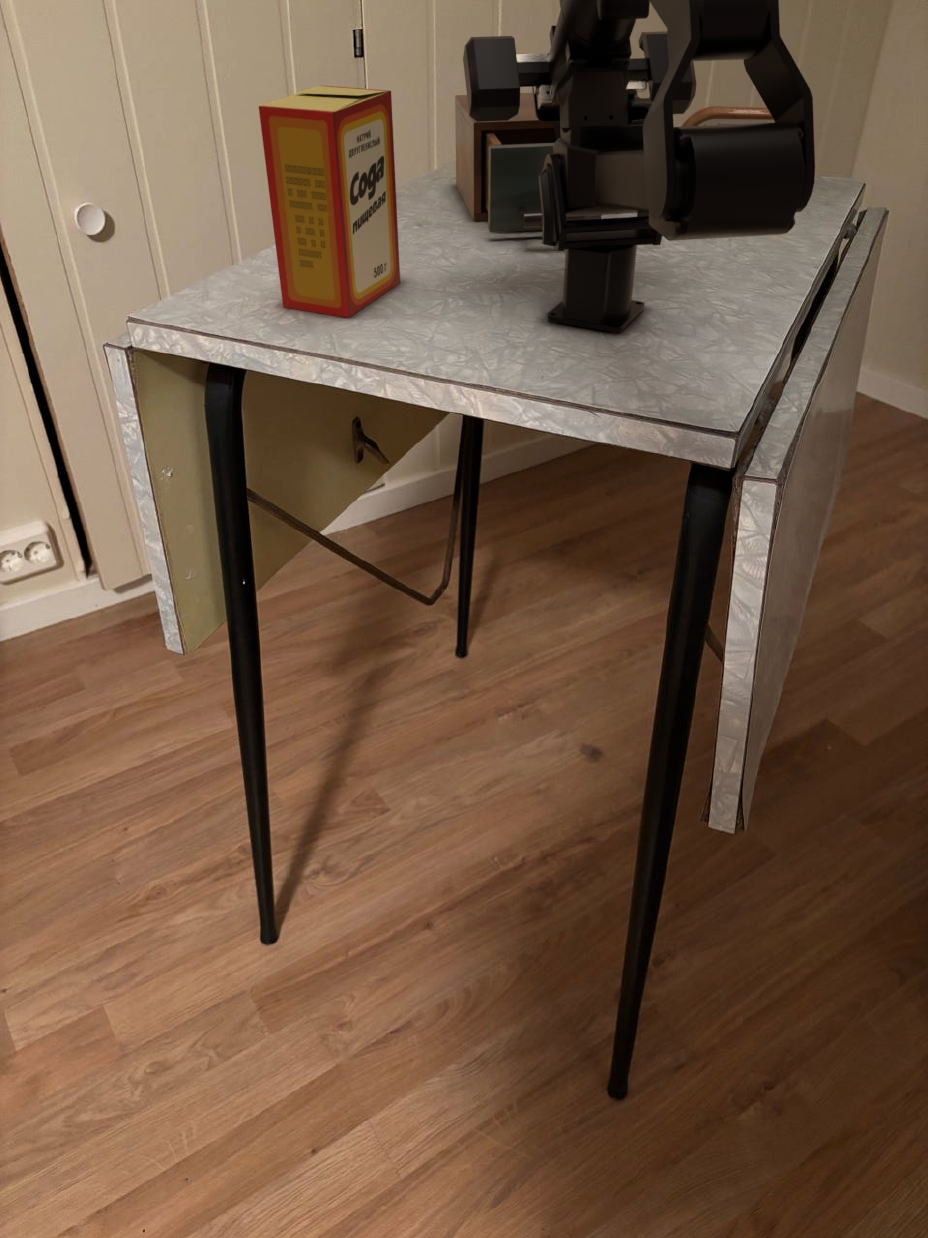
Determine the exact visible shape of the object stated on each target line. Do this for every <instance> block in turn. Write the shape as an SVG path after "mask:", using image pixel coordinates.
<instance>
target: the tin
mask: <svg viewBox="0 0 928 1238" xmlns="http://www.w3.org/2000/svg"><path fill="white" fill-rule="evenodd" d="M756 123H775V121H774V119H773V117H772V115H771V114H770V112H769V110H768V108H767V107H766V106H734V105H733V106H732V105H711V106H706V107H703V108H700V109H698V110H697V111H695V112H693V114H691V115H690V116H689V117H688V118H687V119H685V121H684V122H683V124H682V125H681V126H680V127H686V126H710V125H733V124H756Z"/></svg>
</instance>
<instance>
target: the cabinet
mask: <svg viewBox="0 0 928 1238" xmlns="http://www.w3.org/2000/svg"><path fill="white" fill-rule="evenodd" d="M454 105H455V106H454V110H455V111H454V116H455V117H454V118H455V119H454V120H455V121H454V122H455V125H454V126H455V185H456V188H457V190H458V192H459V194H460V197H461V198H462V200H463V201H464V204H465V206H466V208H467V210H468V212H469V214H470V216H471V218H472V221H473V222H484V221H485V222H488V211H487V210H486V208H485V206H484V204H483V202H482V200H481V131H484V130H510V129H536V128H554V126H553V123H552V122H541V121H540V120H538V119H537V117H536V115H535V109H534V101H533V92H520V108H519V112H518V115H516V116H514V117H512V118H511V119H509V120H507V121H484V122H476V121H475V120H474V119H473V118H471V117H470V116H469V109H468V100H467V94H456V95H454Z"/></svg>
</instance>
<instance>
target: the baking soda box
mask: <svg viewBox="0 0 928 1238" xmlns="http://www.w3.org/2000/svg"><path fill="white" fill-rule="evenodd" d="M258 115H259V121H260V122H259V123H260V130H261V138H262V146H263V147H262V148H263V154H264V164H265V170H266V171H265V172H266V179H267V187H268V195H269V203H270V210H271V211H270V213H271V220H272V227H273V236H274V242H275V243H274V245H275V251H276V260H277V268H278V277H279V285H280V292H281V302H282V308H287V309H293V310H298V311H305V312H310V313H311V312H312V313H318V314H322V315H329V316H336V317H341V318H347V319H350V318H351V317H353V316H354V315H356V314H357V313H358V312H360V311H361V310H362V309H364V308H366V307H368V306H369V305H370V304H371V303H373V302H374V301H376V300H377V299H379V298H380V297H382V296H383V295H385V294H386V293H387V292H389V291H390V290H392V289H393V288H394V287H396V286H397V285H399V284H400V283H401V270H400V269H401V268H400V248H399V228H398V227H399V226H398V208H397V207H398V205H397V187H396V186H397V184H396V183H397V182H396V167H395V166H396V165H395V144H394V141H395V140H394V124H393V123H394V122H393V120H394V119H393V103H392V90H386V89H373V88H360V87H346V86H334V85H318V86H314V87H312V88H311V87H310V88H308V89H304V90H300V91H298V92H296V93H295V94H292V95H288V96H286V97H283V98H279V99H276V100H273V101H271V102H268V103H264V104H261V105H258Z"/></svg>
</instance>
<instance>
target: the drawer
mask: <svg viewBox="0 0 928 1238" xmlns="http://www.w3.org/2000/svg"><path fill="white" fill-rule="evenodd" d="M555 142H556V136H555V131H554V128H536V129H510V130H484V131H481V200H482V202H483V204H484V206H485V208H486V210H487V211H488V221H487V228H488V232H489V233H502V232H503V233H504V232H505V233H506V232H525V231H542V228H543V222H542V208H541V198H540V188H539V175H540V174H541V172H542V170H543V167H544V163H545V158H546V156H547V155H548V154H557V153H553V145H554V143H555ZM602 216H603V215H590V216H571V217H566V221H568V220H587V219H602Z"/></svg>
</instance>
